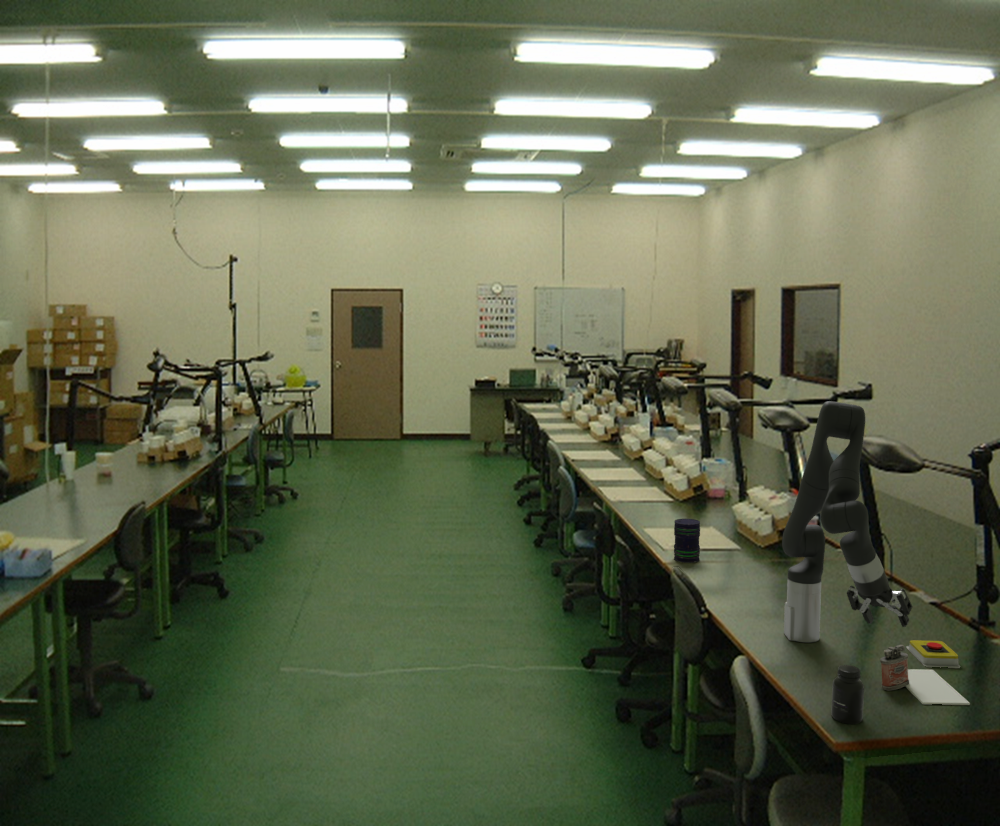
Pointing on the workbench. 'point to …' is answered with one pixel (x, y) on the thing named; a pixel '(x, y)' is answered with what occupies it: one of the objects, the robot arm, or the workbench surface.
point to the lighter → (894, 668)
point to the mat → (933, 688)
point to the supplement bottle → (847, 695)
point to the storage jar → (686, 540)
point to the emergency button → (933, 653)
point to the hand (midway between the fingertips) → (887, 623)
